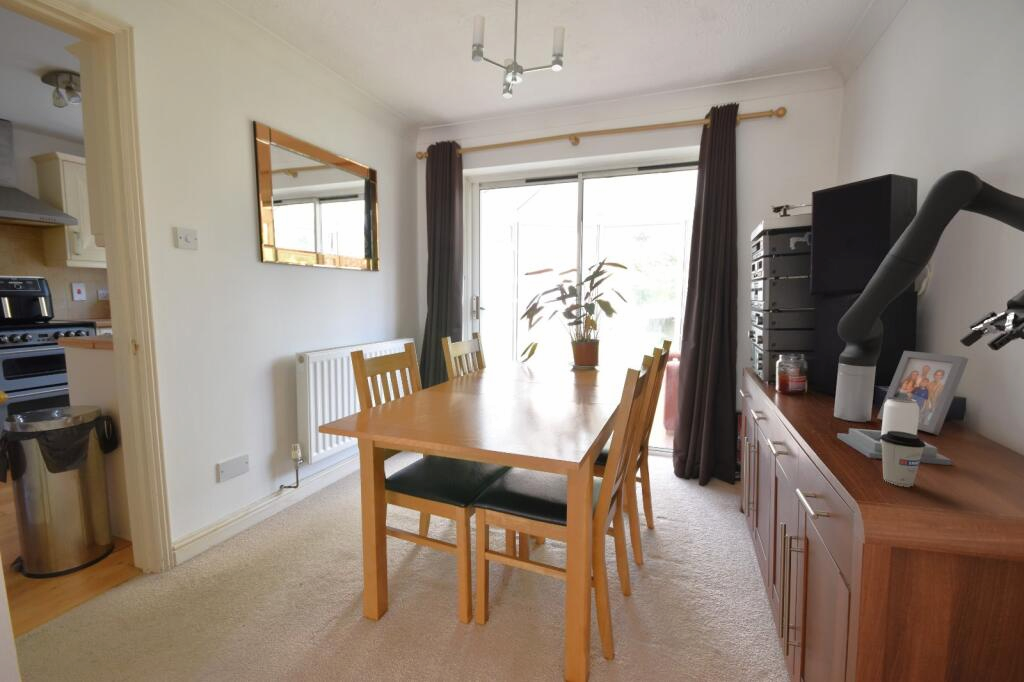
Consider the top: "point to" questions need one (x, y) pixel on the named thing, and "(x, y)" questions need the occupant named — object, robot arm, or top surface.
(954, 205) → the robot arm
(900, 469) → the coffee cup
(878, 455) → the can dock
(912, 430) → the can
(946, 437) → the top surface
